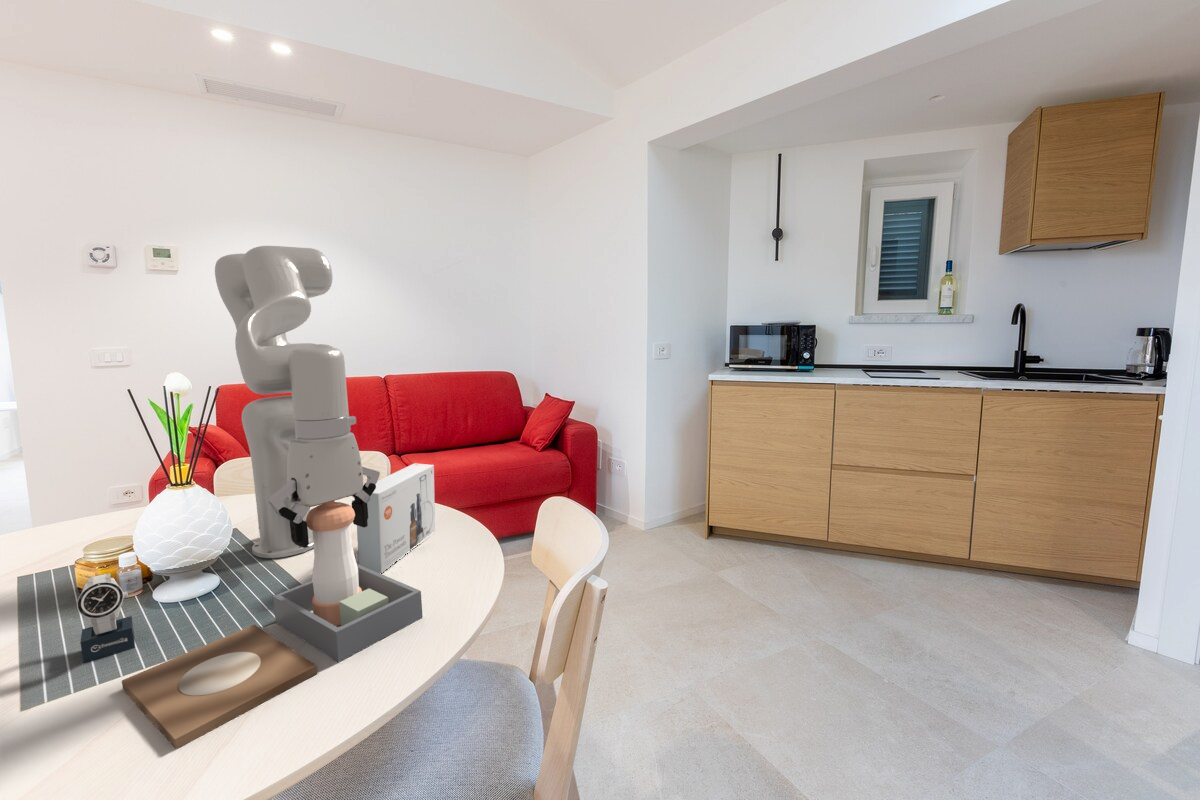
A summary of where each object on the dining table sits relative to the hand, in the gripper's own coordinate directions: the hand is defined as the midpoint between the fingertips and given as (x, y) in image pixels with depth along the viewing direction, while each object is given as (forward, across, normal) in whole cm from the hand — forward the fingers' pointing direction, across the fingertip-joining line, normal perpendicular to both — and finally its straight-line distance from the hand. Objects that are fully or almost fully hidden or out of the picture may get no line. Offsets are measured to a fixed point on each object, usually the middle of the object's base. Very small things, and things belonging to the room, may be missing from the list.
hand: (332, 535), depth 88 cm
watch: (+14, +24, -19) cm, 34 cm away
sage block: (+14, 0, +7) cm, 16 cm away
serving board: (+13, +18, +3) cm, 23 cm away
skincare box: (+14, -21, -13) cm, 28 cm away
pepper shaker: (+14, 0, 0) cm, 14 cm away
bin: (+13, 0, +3) cm, 14 cm away
